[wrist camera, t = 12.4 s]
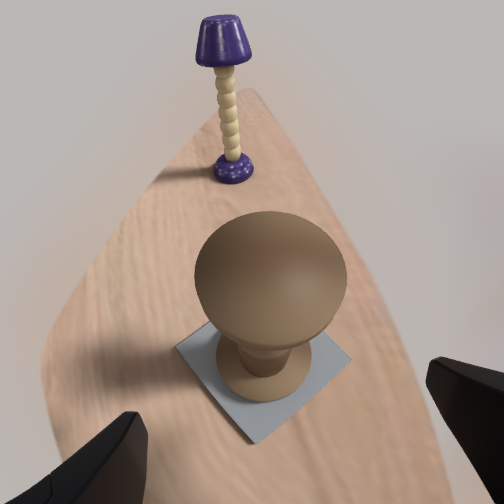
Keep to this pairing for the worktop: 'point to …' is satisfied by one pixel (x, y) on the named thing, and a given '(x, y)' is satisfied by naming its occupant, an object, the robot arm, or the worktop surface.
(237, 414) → the grey mat
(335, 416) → the worktop surface
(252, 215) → the walnut stool
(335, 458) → the worktop surface
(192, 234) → the worktop surface
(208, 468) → the worktop surface
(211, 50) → the toy lamp
